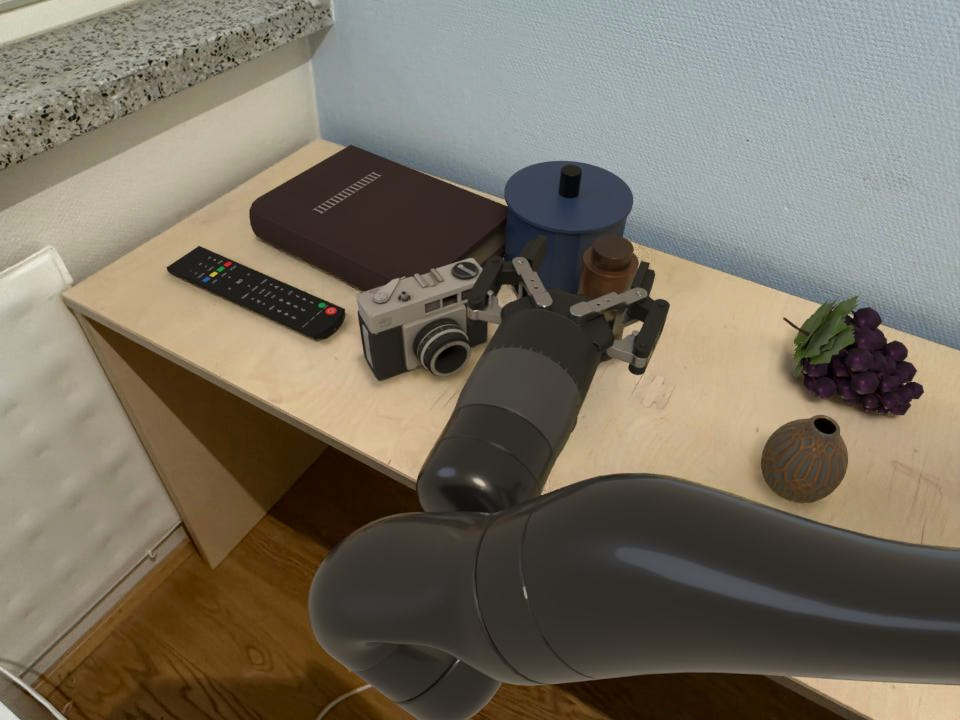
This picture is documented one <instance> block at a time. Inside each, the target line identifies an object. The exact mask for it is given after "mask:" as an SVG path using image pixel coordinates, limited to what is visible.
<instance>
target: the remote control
mask: <svg viewBox="0 0 960 720" xmlns="http://www.w3.org/2000/svg"><path fill="white" fill-rule="evenodd" d="M165 268H166V270H167V272H168V273H169V274H170V275H173V276H176V277H177V278H180V279H181V280H184V281H186V282H189V283H190V284H193V285H195V286H197V287H199V288H201V289H204V290H205V291H208V292H210V293H212V294H213V295H217V296H219V297H221V298H223V299H226V300H227V301H230V302H231V303H234V304H235V305H238V306H240V307H242V308H245V309H247V310H249V311H252V312H254V313H256V314H258V315H260V316H262V317H265V318H266V319H269V320H271V321H273V322H275V323H277V324H279V325H282V326H284V327H286V328H288V329H290V330H292V331H294V332H296V333H299V334H301V335H303V336H306V337H308V338H310V339H311V340H314V341H319V340H320V341H321V340H325V339H328V338H329V337H331V336H333V335H334V334H336V332H337V331H338V330H339V329H340V328H341V326H342V325H343V322H344V318H345V315H346V310H345V308H343V307H342V306H339V305H337V304H336V303H335V304H334V303H333V302H329V301H328V300H326V299H323V298H321V297H319V296H316V295H313V294H312V293H309V292H307V291H304V290H302V289H300V288H298V287H295V286H293V285H290V284H288V283H286V282H284V281H281V280H279V279H277V278H274V277H273V276H270V275H268V274H265V273H263V272H260V271H258V270H257V269H253V268H251V267H249V266H247V265H244V264H242V263H240V262H238V261H235V260H233V259H230V258H228V257H226V256H223V255H221V254H220V253H217V252H214V251H212V250H209V249H207V248H205V247H202V245H201V246H200V245H197V247H195V248H193V249H192V250H190V251H188V253H186V254H184V255H183V256H181V257H180V258H179V259H176V260H175V261H174V262H172V263H171V264H170V265H168V266H166V267H165Z"/></svg>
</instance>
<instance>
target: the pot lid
mask: <svg viewBox="0 0 960 720" xmlns="http://www.w3.org/2000/svg"><path fill="white" fill-rule="evenodd" d="M503 192H504V193H503V195H504V196H503V197H504V201H505V204H506V206H508V207H509V208H510V210H511V211H512V212H513V213H514V214H515V215H516V216H518V217H519V218H520V219H522V220H523V221H525V222H527V223H529V224H531V225H533V226H536V227H539V228H541V229H545V230H549V231H553V232H559V233H568V234H584V233H593V232H598V231H603V230H606V229H609V228H611V227H614V226H616V225H617V224H619V223H621V222H622V221H623V220H624V219H626V218H627V219H628V216H629V215H630V214H631V212H632V210H633V206H634V194H633V191H632V189H631V188H630V185H628V183H627V182H626V181H624V180H623V179H622V178H621V177H620V176H618V175H616V174H615V173H613V172H612V171H610V170H608V169H605V168H603V167H600V166H598V165H595V164H590V163H586V162H582V161H581V162H580V161H572V160H551V161H550V160H549V161H543V162H542V161H541V162H537V163H534V164H530V165H527V166H525V167H523V168H521V169H519V170H517V171H516V172H515V173H513V174H512V175H511V176H510V177H509V178H508V180H507V181H506V184H505V186H504V191H503Z"/></svg>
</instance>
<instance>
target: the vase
mask: <svg viewBox="0 0 960 720" xmlns="http://www.w3.org/2000/svg"><path fill="white" fill-rule="evenodd" d="M848 466H849V450H848V447H847V444H846V443H845V440H844V439H843V437H842V434H841V427H840V425H839V423H838V422H837V420H835V419H834V418H832V417H831V416H829V415H825V414H816V415H813V416H812V417H809V418H808V417H807V418H799V419H793V420H790V421H788V422H786V423H784V424H782V425H780V427H778V428H777V429H776V430H775V431H774V432H773V433H772V434H771V435H770V436H769V437H768V439H767V440H766V442H765V444H764V446H763V449H762V452H761V455H760V471H761V475H762V477H763V479H764V480H763V481H765V483H766V485H767V487H768V488H769V489H770V490H771V491H772V492H773V493H774V494H776V495H777V496H778V497H780V498H781V499H784V500H786V501H788V502H791V503H795V504H812V503H813V504H814V503H816V502H820V501H821V500H823V499H825V498H827V497H829V496H830V495H832V494H833V493H834V492H835V491H836V490H837V489H838V488H839V486H840V485H841V484H842V482H843V480H844V479H845V477H846V475H847V471H848Z"/></svg>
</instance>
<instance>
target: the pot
mask: <svg viewBox="0 0 960 720" xmlns="http://www.w3.org/2000/svg"><path fill="white" fill-rule="evenodd" d="M506 206H507V205H506ZM627 219H628V217H627V218H626V219H624V220H623V221H622V222H621V223H619V224H617V225H616V226H614V227H611V228H609V229H606V230H603V231H598V232H593V233H584V234H568V233H559V232H553V231H549V230H545V229H541V228H539V227H536V226H533V225H531V224H529V223H527V222H525V221H523V220H522V219H520V218H519V217H518V216H516V215H515V214H514V213H513V212H512V211H511V210H510V208H509V207H508V206H507V224H506V243H505V256H504V261H513V259H514V258H516V257H518V256H519V255H520V253H521V252H522V250H523V248H524V247H525V245H526V243H527V242H528V241H530V240H536V239H537V237H538V236H539V235H540V236H545V237H547V238H548V240H547V249H546V255H545V258H544V260H543V262H542V264H541V266H540V267H539V269H538V271H537V274H538V276H539V278H540V280H541V282H542V284H543V286H544V288H545V289H551V287H555V288H559V289H562V290H564V291H566V292H568V293H571V294H577V292H578V286H579V280H580V273H581V267H582V261H583V255H584V253H585V251H586V250H587V249H588V248H590V247H592V246H593V243H594V241H595V240H596V239H597V238H599V237H601V236H605V235H616V236H620V237H623V238H624V234H625V230H626V229H625V228H626V224H627V221H628V220H627Z"/></svg>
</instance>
